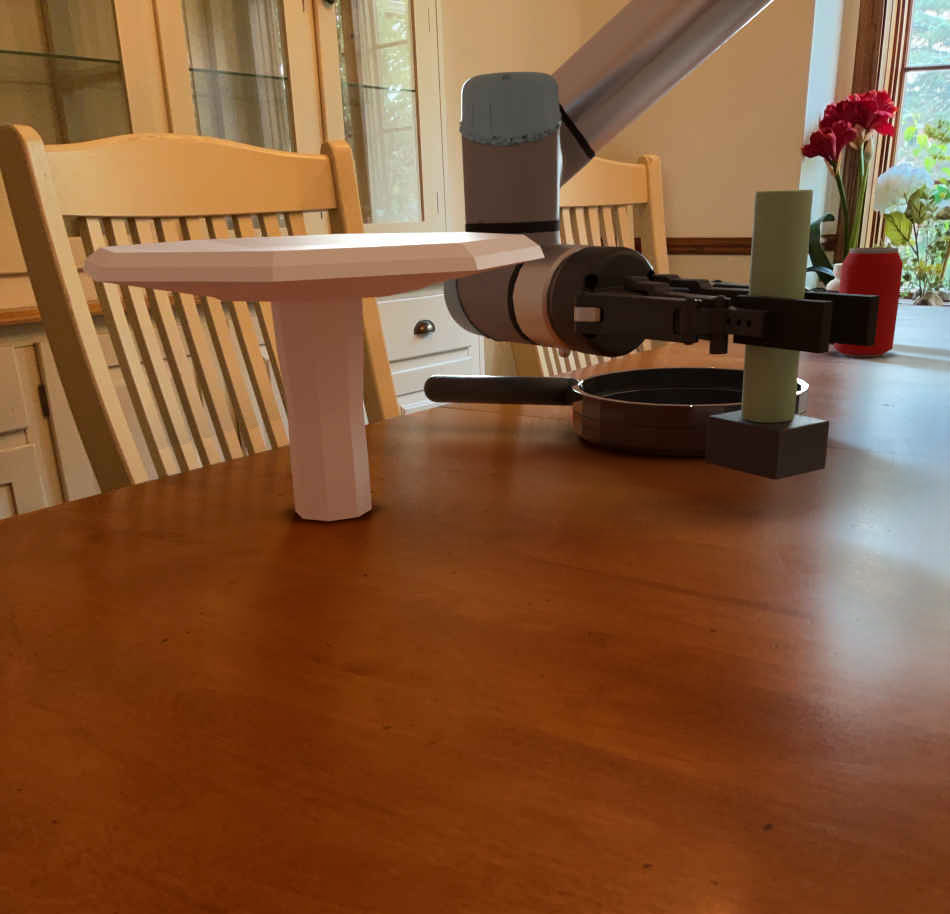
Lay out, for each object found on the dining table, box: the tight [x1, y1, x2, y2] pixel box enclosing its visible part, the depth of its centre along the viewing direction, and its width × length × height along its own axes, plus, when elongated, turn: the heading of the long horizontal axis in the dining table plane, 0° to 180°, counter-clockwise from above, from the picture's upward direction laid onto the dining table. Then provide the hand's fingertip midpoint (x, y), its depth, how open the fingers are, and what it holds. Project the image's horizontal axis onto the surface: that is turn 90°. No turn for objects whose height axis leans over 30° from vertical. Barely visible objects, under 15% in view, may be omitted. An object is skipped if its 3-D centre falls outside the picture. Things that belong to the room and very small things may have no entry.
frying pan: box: [570, 366, 809, 457], centre depth 87 cm, size 19×19×4 cm
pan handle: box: [423, 374, 583, 407], centre depth 91 cm, size 14×2×2 cm, turn 73°
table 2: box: [82, 231, 545, 522], centre depth 66 cm, size 28×28×17 cm
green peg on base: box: [704, 189, 830, 481], centre depth 63 cm, size 6×4×16 cm
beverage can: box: [833, 246, 904, 358], centre depth 124 cm, size 7×7×12 cm
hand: (849, 324), depth 58 cm, fingers closed on green peg on base, 3 cm apart
